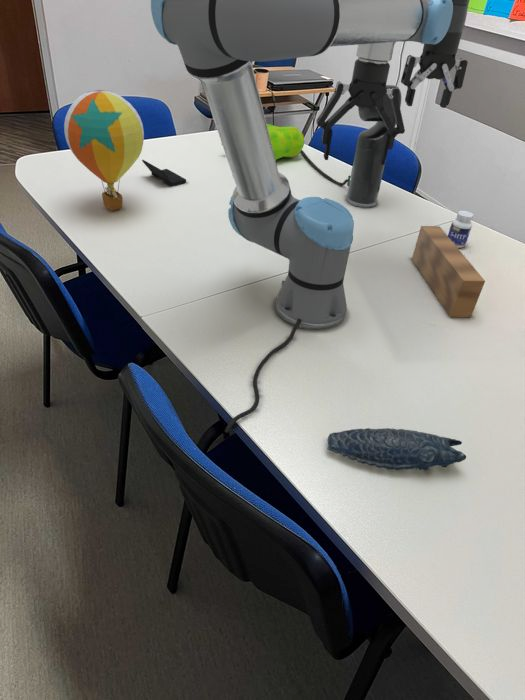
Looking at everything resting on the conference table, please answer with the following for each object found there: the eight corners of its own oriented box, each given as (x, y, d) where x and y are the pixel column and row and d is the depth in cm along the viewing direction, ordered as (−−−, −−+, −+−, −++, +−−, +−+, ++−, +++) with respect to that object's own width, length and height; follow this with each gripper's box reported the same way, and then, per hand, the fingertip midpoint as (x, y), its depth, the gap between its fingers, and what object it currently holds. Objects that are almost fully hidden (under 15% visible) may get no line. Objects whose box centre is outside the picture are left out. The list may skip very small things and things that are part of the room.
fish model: (464, 484, 79) (474, 462, 76) (325, 466, 80) (330, 444, 77) (456, 450, 84) (465, 429, 81) (326, 434, 85) (331, 412, 82)
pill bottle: (444, 245, 142) (454, 215, 137) (446, 237, 146) (456, 207, 141) (464, 249, 141) (475, 219, 135) (465, 241, 145) (476, 212, 139)
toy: (64, 203, 145) (44, 85, 127) (127, 189, 156) (117, 79, 137) (97, 229, 134) (80, 105, 116) (162, 213, 145) (156, 96, 126)
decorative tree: (218, 120, 186) (299, 120, 191) (218, 150, 192) (297, 149, 197) (225, 135, 172) (312, 134, 177) (225, 166, 178) (309, 165, 184)
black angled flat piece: (190, 175, 164) (173, 153, 156) (179, 193, 163) (161, 172, 155) (166, 170, 170) (147, 148, 162) (155, 188, 169) (136, 167, 161)
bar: (471, 317, 115) (485, 280, 110) (450, 317, 115) (463, 280, 109) (429, 259, 136) (439, 226, 130) (411, 259, 135) (421, 225, 129)
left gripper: (425, 62, 115) (401, 159, 128) (313, 51, 113) (300, 151, 126) (434, 69, 109) (408, 170, 122) (317, 57, 107) (303, 161, 120)
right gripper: (468, 27, 119) (447, 103, 129) (409, 23, 117) (392, 100, 127) (483, 32, 113) (459, 112, 123) (420, 28, 111) (402, 109, 121)
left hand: (353, 160), depth 124 cm, fingers open, 13 cm apart
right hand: (425, 106), depth 125 cm, fingers open, 8 cm apart
